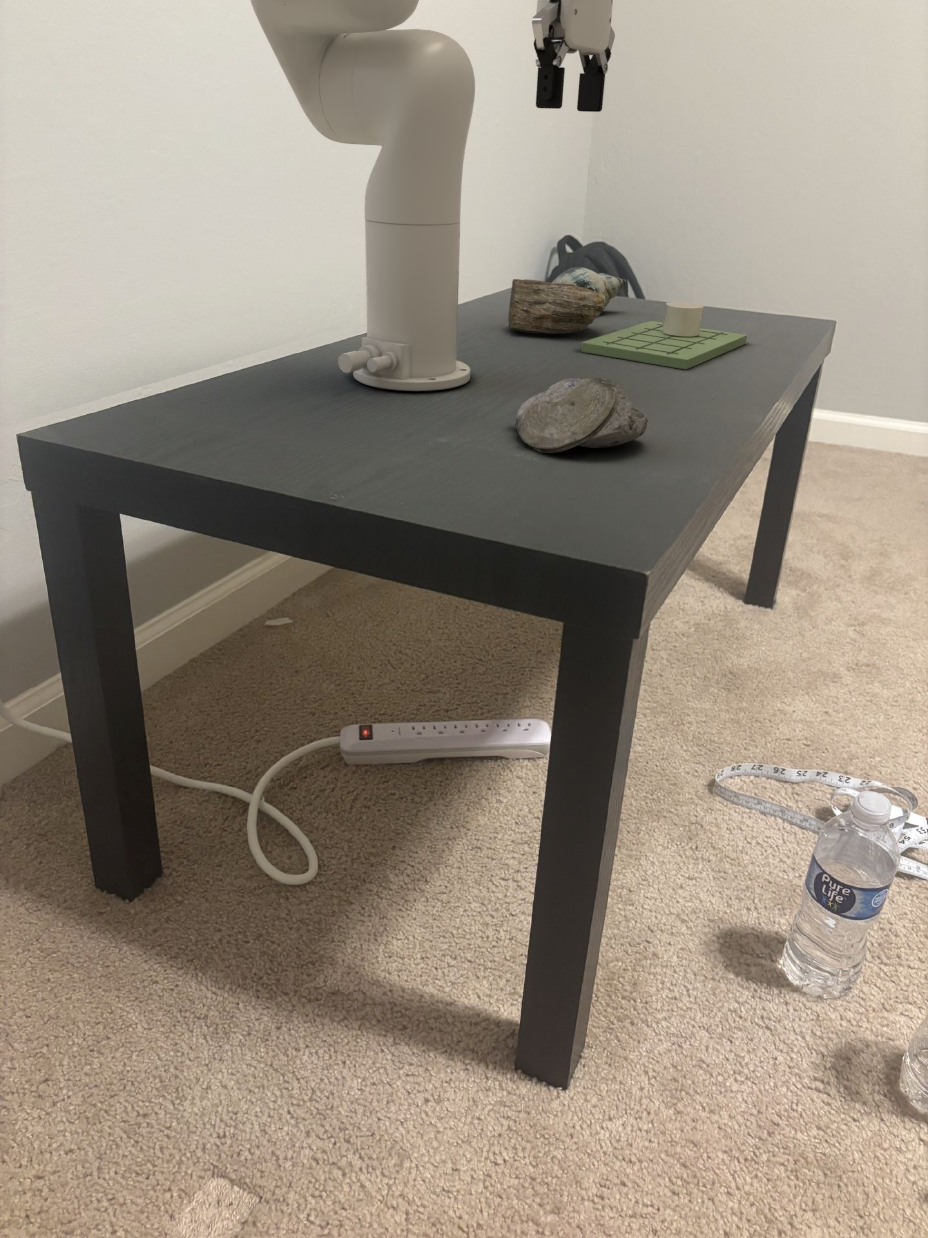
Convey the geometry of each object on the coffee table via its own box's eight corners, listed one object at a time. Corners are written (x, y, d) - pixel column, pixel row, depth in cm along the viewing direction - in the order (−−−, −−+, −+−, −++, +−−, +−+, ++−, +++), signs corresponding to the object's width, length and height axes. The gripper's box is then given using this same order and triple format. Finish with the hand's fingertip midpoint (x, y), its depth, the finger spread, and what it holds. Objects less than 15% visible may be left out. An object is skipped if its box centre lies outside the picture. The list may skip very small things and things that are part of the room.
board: (686, 369, 105) (687, 358, 105) (580, 351, 112) (581, 341, 112) (745, 343, 120) (747, 334, 119) (649, 329, 127) (650, 319, 126)
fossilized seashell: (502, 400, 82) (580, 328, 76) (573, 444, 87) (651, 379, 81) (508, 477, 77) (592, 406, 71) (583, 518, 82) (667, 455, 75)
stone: (608, 299, 127) (606, 248, 118) (605, 361, 124) (603, 313, 114) (513, 302, 130) (504, 253, 120) (508, 363, 126) (498, 317, 117)
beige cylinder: (690, 338, 115) (695, 308, 114) (656, 333, 118) (660, 304, 116) (705, 333, 119) (709, 304, 117) (671, 327, 121) (675, 299, 120)
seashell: (546, 316, 142) (620, 323, 138) (532, 301, 135) (610, 308, 131) (553, 275, 141) (628, 280, 137) (540, 258, 134) (619, 263, 130)
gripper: (590, -54, 107) (577, 111, 115) (512, -83, 94) (503, 106, 102) (648, -59, 103) (630, 113, 111) (575, -89, 91) (560, 107, 99)
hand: (569, 109), depth 107 cm, fingers open, 9 cm apart
